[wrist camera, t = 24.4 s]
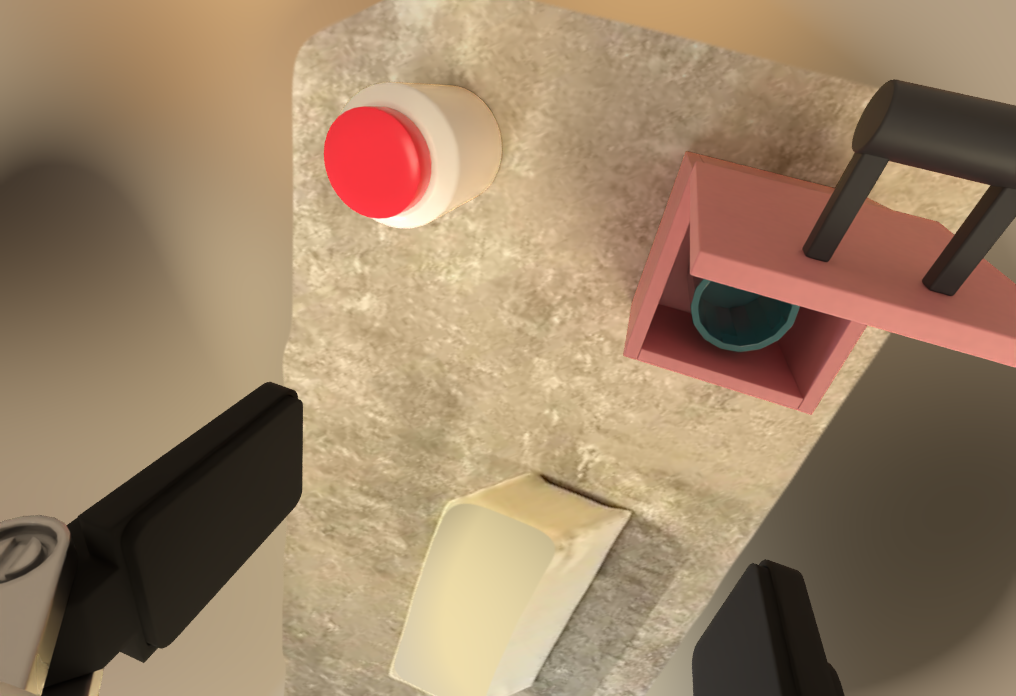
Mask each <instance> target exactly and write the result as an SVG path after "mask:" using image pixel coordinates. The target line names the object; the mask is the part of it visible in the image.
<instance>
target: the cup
mask: <svg viewBox="0 0 1016 696" xmlns="http://www.w3.org/2000/svg"><path fill="white" fill-rule="evenodd" d="M687 283H688V291H689V300H690V308H691V314H692V319H693V324H694V326H695V327H696V329H697V330H698V331H699V333H700V334H701V336H702V337H703V338H704V339H705V340H707V341H708V342H710V343H712V344H713V345H715V346H717V347H718V348H720V349H725V350H730V351H736V352H745V351H752V350H759V349H762V348H764V347H766V346H768V345H770V344H772V343H774V342H776V341H778V340H779V339H780V338H781V337H782V336H783V335H784V334H785V333H786V332H787V331H788V330H789V329H790V328H791V327H792V326H793V324H794V322H795V319H796V317H797V314H798V311H799V309H800V306H798V305H795V304H791V303H788V302H784V301H780V300H777V299H773V298H770V297H766V296H763V295H759V294H756V293H752V292H749V291H745V290H742V289H738V288H735V287H731V286H728V285H724V284H721V283H717V282H714V281H710V280H707V279H703V278H700V277H696V276H693V275H691V274H690V262H689V265H688V270H687Z"/></svg>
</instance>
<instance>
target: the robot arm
mask: <svg viewBox="0 0 1016 696" xmlns="http://www.w3.org/2000/svg"><path fill="white" fill-rule="evenodd" d="M302 454H303V403H302V401H301V400H299V399H298V395H297V393H296V391H294V390H292V389H289V388H286V387H283V386H281V385H278V384H275V383H272V382H267V383H265V384H263V385H261V386H260V387H258V388H257V389H256V390H254V391H253V392H251V393H250V394H249V395H247V396H246V397H244V398H243V399H242V400H240V401H239V402H237V403H236V404H235V405H233V406H232V407H230V408H229V409H228V410H226V411H225V412H223V413H222V414H221V415H219V416H218V417H216V418H215V419H214V420H212V421H211V422H209V423H208V424H207V425H205V426H204V427H202V428H201V429H200V430H198V431H197V432H195V433H194V434H192V435H191V436H190V437H188V438H187V439H185V440H184V441H183V442H181V443H180V444H178V445H177V446H176V447H174V448H173V449H171V450H170V451H169V452H168V453H166V454H164V455H163V456H162V457H160V458H159V459H158V460H156V461H155V462H153V463H152V464H151V465H149V466H148V467H146V468H145V469H143V470H142V471H141V472H139V473H138V474H136V475H135V476H134V477H132V478H131V479H130V480H128V481H127V482H125V483H124V484H122V485H121V486H120V487H118V488H117V489H115V490H114V491H113V492H111V493H110V494H108V495H107V496H106V497H104V498H103V499H101V500H100V501H99V502H97V503H96V504H94V505H93V506H92V507H90V508H89V509H87V510H86V511H85V512H83V513H82V514H80V515H79V516H78V518H76V519H75V520H74V521H72V522H71V523H69V524H68V525H66V524H65V523H63V522H62V521H60V520H58V519H56V518H54V517H48V516H42V515H36V516H23V517H18V518H13V519H9V520H5V521H2V522H0V696H99V690H100V686H101V680H102V676H103V670H104V667H105V666H106V665H107V664H108V663H109V662H110V661H111V660H112V659H113V658H114V657H115V656H116V655H117V654H118V653H119V652H122V653H124V654H126V655H128V656H130V657H133V658H135V659H137V660H139V661H141V662H143V663H144V662H145V661H146V660H147V659H148V658H149V657H150V656H151V655H152V654H153V653H154V652H155V651H156V649H157V648H165V647H167V646H168V645H170V644H171V643H172V642H173V641H174V640H175V639H176V638H177V637H178V635H180V634H181V632H182V631H183V630H184V629H185V628H186V627H187V626H188V625H189V624H190V622H191V621H192V620H193V619H194V618H195V617H196V616H197V615H198V614H199V612H200V611H201V610H202V609H203V608H204V607H205V606H206V605H207V604H208V602H209V601H210V600H211V599H212V598H213V597H214V596H215V595H216V594H217V593H218V591H219V590H220V589H221V588H222V587H223V586H224V585H225V584H226V583H227V581H228V580H229V579H230V578H231V577H232V576H233V575H234V574H235V573H236V572H237V570H238V569H239V568H240V567H241V566H242V565H243V564H244V563H245V562H246V560H247V559H248V558H249V557H250V556H251V555H252V554H253V553H254V552H255V551H256V549H257V548H258V547H259V546H260V545H261V544H262V543H263V542H264V540H266V538H267V537H268V536H269V535H270V534H271V533H272V532H273V531H274V529H275V528H276V527H277V526H278V525H279V524H280V523H281V522H282V521H283V520H284V518H285V517H286V516H287V515H288V514H289V513H290V512H291V511H292V510H293V509H294V507H295V506H296V505H297V503H298V501H299V499H300V497H301V494H302ZM692 674H693V693H694V694H693V696H844V693H843V689H842V686H841V683H840V680H839V677H838V675H837V673H836V671H835V669H834V668H833V667H832V665H831V664H829V663H828V662H827V659H826V655H825V652H824V649H823V645H822V642H821V638H820V634H819V631H818V627H817V624H816V621H815V617H814V613H813V610H812V607H811V603H810V600H809V596H808V593H807V589H806V585H805V582H804V579H803V576H802V575H801V573H800V572H799V571H797V570H795V569H792V568H789V567H786V566H784V565H781V564H778V563H775V562H772V561H770V560H763V561H762V562H761V563H760V564H759V565H757V564H754V563H752V564H750V565H749V566H748V568H747V569H746V571H745V572H744V574H743V575H742V577H741V578H740V580H739V581H738V583H737V584H736V586H735V587H734V589H733V590H732V592H731V593H730V595H729V596H728V598H727V599H726V601H725V602H724V603H723V605H722V607H721V608H720V609H719V611H718V612H717V614H716V616H715V617H714V619H713V620H712V621H711V623H710V624H709V626H708V627H707V629H706V630H705V632H704V634H703V635H702V636H701V638H700V640H699V641H698V643H697V644H696V646H695V649H694V653H693V658H692Z"/></svg>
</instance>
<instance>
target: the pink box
mask: <svg viewBox="0 0 1016 696" xmlns="http://www.w3.org/2000/svg"><path fill="white" fill-rule="evenodd" d="M696 161H699V162H703V163H707V164H711V165H715V166H719V167H723V168H727V169H731V170H735V171H739V172H743V173H747V174H751V175H755V176H758V177H762V178H766V179H770V180H774V181H778V182H782V183H786V184H790V185H794V186H798V187H802V188H806V189H810V190H814V191H818V192H822V193H826V194H830V195H832V193H833V191H834V190H835V188H832V187H828V186H824V185H820V184H816V183H812V182H808V181H804V180H800V179H796V178H792V177H788V176H784V175H780V174H776V173H772V172H768V171H764V170H760V169H756V168H752V167H748V166H744V165H740V164H736V163H732V162H728V161H724V160H720V159H716V158H712V157H708V156H704V155H700V154H696V153H692V152H688V151H686V152H685V155H684V158H683V161H682V163H681V166H680V169H679V172H678V175H677V177H676V180H675V183H674V186H673V189H672V191H671V194H670V197H669V200H668V203H667V205H666V208H665V211H664V214H663V217H662V219H661V222H660V225H659V228H658V231H657V234H656V236H655V239H654V242H653V245H652V248H651V250H650V253H649V256H648V259H647V262H646V264H645V267H644V270H643V273H642V276H641V278H640V281H639V284H638V287H637V290H636V292H635V295H634V298H633V301H632V305H631V311H630V317H629V323H628V329H627V335H626V341H625V348H624V354H623V356H625V357H629V358H632V359H635V360H636V359H637V360H639V361H642V362H645V363H648V364H652V365H655V366H658V367H661V368H664V369H667V370H671V371H674V372H677V373H680V374H683V375H687V376H690V377H693V378H696V379H699V380H702V381H706V382H709V383H712V384H715V385H718V386H722V387H725V388H728V389H731V390H734V391H738V392H741V393H744V394H747V395H750V396H753V397H757V398H760V399H763V400H766V401H769V402H773V403H776V404H779V405H782V406H785V407H789V408H792V409H795V410H798V411H801V412H804V413H807V414H810V415H812V413H813V412H814V410H815V409H816V407H817V405H818V404H819V402H820V401H821V399H822V397H823V396H824V394H825V393H826V391H827V389H828V388H829V386H830V385H831V383H832V381H833V380H834V378H835V377H836V375H837V373H838V372H839V370H840V368H841V367H842V365H843V364H844V362H845V360H846V359H847V357H848V356H849V354H850V352H851V351H852V349H853V348H854V346H855V344H856V343H857V341H858V340H859V338H860V336H861V335H862V333H863V332H864V330H865V328H866V327H867V325H865V324H861V323H858V322H854V321H851V320H847V319H844V318H840V317H837V316H833V315H830V314H826V313H823V312H819V311H816V310H812V309H809V308H805V307H802V306H800V309H799V311H798V314H797V317H796V319H795V322H794V324H793V326H792V327H791V328H790V329H789V330H788V331H787V332H786V333H785V334H784V335H783V336H782V337H781V338H780V339H779V340H778V341H776V342H774V343H772V344H770V345H768V346H766V347H764V348H762V349H759V350H752V351H745V352H736V351H730V350H725V349H720V348H718V347H717V346H715V345H713V344H712V343H710V342H708V341H707V340H705V339H704V338H703V337H702V336H701V334H700V333H699V331H698V330H697V329H696V327H695V326H694V324H693V319H692V314H691V308H690V300H689V291H688V283H687V270H688V265H689V262H690V175H691V172H692V170H693V167H694V164H695V162H696ZM864 203H866V204H869V205H873V206H877V207H881V208H885V209H889V208H887V207H885V206H883V205H881V204H879V203H877V202H875V201H873V200H871V199H869V198H866V200H865V202H864ZM889 210H891V209H889Z"/></svg>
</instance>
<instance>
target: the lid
mask: <svg viewBox="0 0 1016 696" xmlns="http://www.w3.org/2000/svg"><path fill="white" fill-rule="evenodd" d="M852 149H853V151H854V152H855V153H854V155H853V157H852V159H851V161H850V162H849V164H848V166H847V168H846V170H845V171H844V173H843V175H842V177H841V179H840V181H839V182H838V184H837V186H836V188H835V190H834V191H833V193H832V195H830V194H826V193H822V192H818V191H814V190H810V189H806V188H802V187H798V186H794V185H790V184H786V183H782V182H778V181H774V180H770V179H766V178H762V177H758V176H755V175H751V174H747V173H743V172H739V171H735V170H731V169H727V168H723V167H719V166H715V165H711V164H707V163H703V162H699V161H696V162H695V164H694V167H693V170H692V172H691V175H690V274H691V275H693V276H696V277H700V278H703V279H707V280H710V281H714V282H717V283H721V284H724V285H728V286H731V287H735V288H738V289H742V290H745V291H749V292H752V293H756V294H759V295H763V296H766V297H770V298H773V299H777V300H780V301H784V302H788V303H791V304H795V305H798V306H802V307H805V308H809V309H812V310H816V311H819V312H823V313H826V314H830V315H833V316H837V317H840V318H844V319H847V320H851V321H854V322H858V323H861V324H865V325H868V326H872V327H875V328H879V329H882V330H886V331H889V332H893V333H896V334H900V335H903V336H907V337H911V338H914V339H917V340H921V341H925V342H928V343H932V344H935V345H939V346H942V347H945V348H949V349H952V350H956V351H959V352H963V353H966V354H970V355H974V356H977V357H981V358H984V359H988V360H991V361H995V362H998V363H1002V364H1005V365H1009V366H1012V367H1016V284H1015V283H1014V282H1012V281H1011V280H1010V279H1009V278H1007V277H1006V276H1005V275H1004V274H1002V273H1001V272H1000V271H999V270H997V269H996V268H995V267H994V266H993V265H991V264H990V263H988V261H986V260H985V259H984V256H985V255H986V254H987V253H988V251H989V250H990V249H991V247H992V246H993V245H994V243H995V242H996V241H997V240H998V239H999V237H1000V236H1001V235H1002V233H1003V232H1004V231H1005V229H1006V228H1007V227H1008V226H1009V225H1010V223H1011V222H1012V221H1013V219H1014V218H1015V217H1016V106H1015V105H1010V104H1006V103H1001V102H996V101H992V100H987V99H982V98H978V97H973V96H969V95H964V94H960V93H955V92H950V91H945V90H941V89H937V88H932V87H927V86H922V85H918V84H913V83H909V82H904V81H899V80H890V81H888V82H886V83H885V84H884V85H883V86H882V87H881V88H880V89H879V90H878V91H877V92H876V93H875V95H874V96H873V97H872V99H871V100H870V102H869V103H868V105H867V106H866V108H865V110H864V112H863V114H862V115H861V118H860V120H859V122H858V124H857V127H856V129H855V132H854V136H853V141H852ZM888 161H892V162H896V163H900V164H904V165H908V166H913V167H917V168H921V169H925V170H929V171H934V172H938V173H942V174H946V175H950V176H954V177H959V178H963V179H967V180H971V181H975V182H980V183H984V184H988V185H991V186H990V187H989V188H988V190H987V191H986V192H985V194H984V195H983V197H982V198H981V199H980V201H979V202H978V203H977V205H976V206H975V208H974V209H973V210H972V212H971V213H970V214H969V216H968V217H967V218H966V220H965V221H964V223H963V224H962V225H961V227H960V228H959V229H958V231H957V232H956V234H955V235H954V234H953V233H951V232H950V231H949V230H948V229H947V228H945V227H944V226H943V225H942V224H940V223H939V222H937V221H933V220H929V219H925V218H921V217H917V216H913V215H909V214H905V213H901V212H897V211H893V210H889V209H885V208H881V207H877V206H873V205H869V204H866V203H864V202H865V200H866V198H867V197H868V195H869V193H870V192H871V190H872V188H873V186H874V185H875V183H876V181H877V180H878V178H879V176H880V175H881V173H882V171H883V170H884V168H885V166H886V165H887V163H888Z"/></svg>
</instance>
